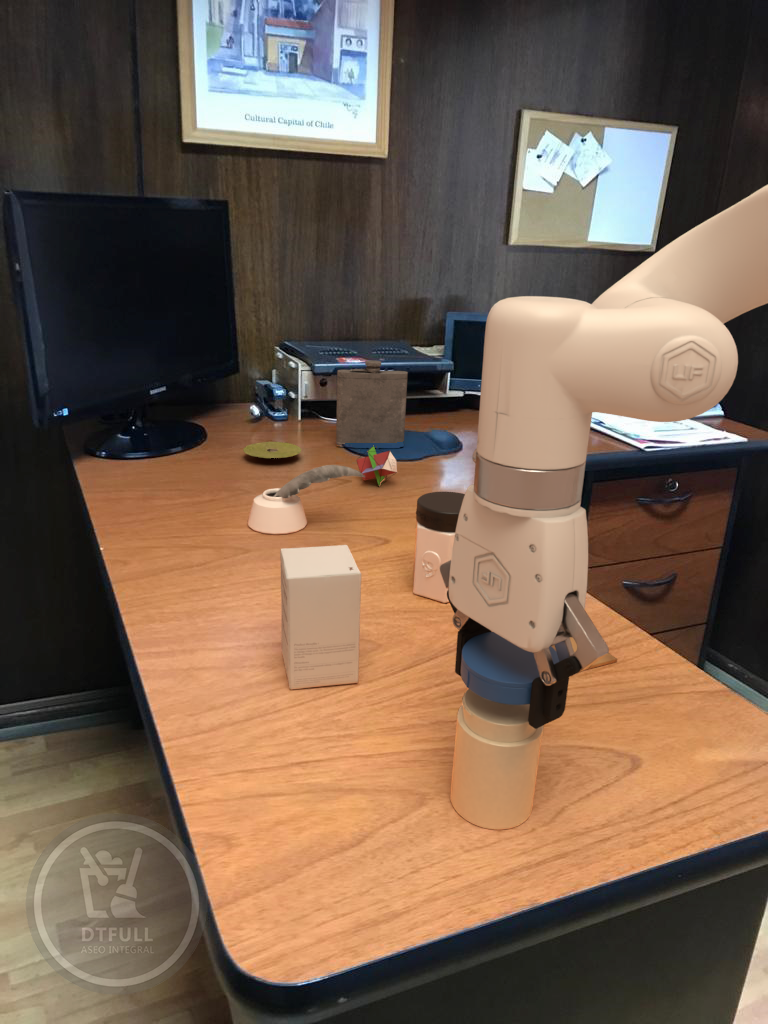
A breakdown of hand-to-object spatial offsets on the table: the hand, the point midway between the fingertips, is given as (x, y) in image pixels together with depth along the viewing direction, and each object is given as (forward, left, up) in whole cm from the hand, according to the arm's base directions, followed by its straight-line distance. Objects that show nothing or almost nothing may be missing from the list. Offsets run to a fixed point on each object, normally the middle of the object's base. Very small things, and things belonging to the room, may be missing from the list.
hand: (506, 693), depth 60 cm
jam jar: (0, 0, -10) cm, 10 cm away
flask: (-35, -100, -11) cm, 106 cm away
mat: (-13, -98, -11) cm, 100 cm away
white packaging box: (+6, -24, -11) cm, 27 cm away
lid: (0, 0, +3) cm, 3 cm away
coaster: (-20, -18, -10) cm, 29 cm away
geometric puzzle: (-26, -78, -11) cm, 83 cm away
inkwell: (-7, -63, -11) cm, 64 cm away
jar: (-16, -36, -11) cm, 41 cm away
